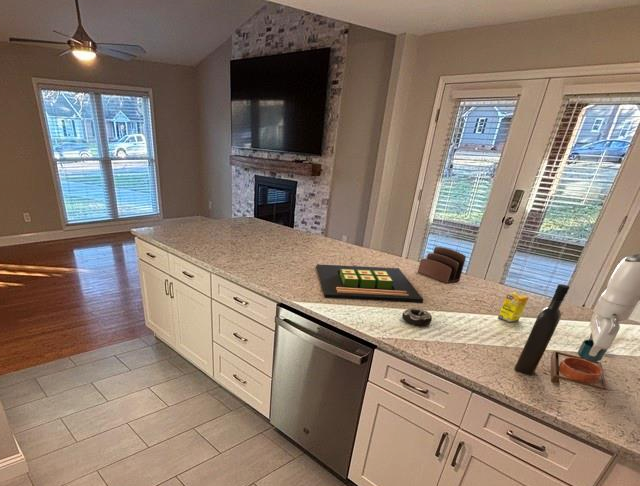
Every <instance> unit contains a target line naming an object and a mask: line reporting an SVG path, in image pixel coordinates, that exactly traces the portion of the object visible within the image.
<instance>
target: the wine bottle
mask: <svg viewBox="0 0 640 486" xmlns="http://www.w3.org/2000/svg"><path fill="white" fill-rule="evenodd" d="M569 289H570V286H569V285H566V284H562V283H561V284H557V286H556V289H555V291H554V294H553V296H552V298H551V300H550V303H549V304H548V306H547V307H544V308H543V309H542V310H541V311H540V312H539V314H538V315H537V317H536V320H535V322H534V324H533V326H532V328H531V330H530V332H529V335H528V337H527V340H526V341H525V344H524V346H523V348H522V350H521V353H520V355H519V357H518V360H517V362H516V364H515V366H514V371H516V372H519V373H522V374H525V375H527V376H533V375H534V373H535V372H536V370H537V368H538V366H539V364H540V362H541V360H542V358H543V356H544V354H545V352H546V349H547V348H548V346H549V344H550V342H551V339H552V338H553V335H554V333H555V332H556V329H557V327H558V325H559V323H560V321H561V319H562V312H561V310H560V308H561V305H562V303H563V302H564V299H565V297H566V295H567V294H568V291H569Z"/></svg>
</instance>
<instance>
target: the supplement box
mask: <svg viewBox="0 0 640 486" xmlns="http://www.w3.org/2000/svg"><path fill="white" fill-rule="evenodd" d="M529 298H530V297H529V296H526V295H524V294H521V293H518V292H516V291H515V292H512V293H511V292H510V293H507V294H506V297H505V299H504V301H503V303H502V306H501V309H500V311H499V313H498V317H497V318H498V319H499V320H502V321H505V322H506V323H508V324H512V323H516V322H519V321H520V318H521V317H522V314H523V312H524V309H525V307H526V305H527V303H528V300H529Z"/></svg>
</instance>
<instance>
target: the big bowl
mask: <svg viewBox="0 0 640 486" xmlns="http://www.w3.org/2000/svg"><path fill="white" fill-rule="evenodd" d="M576 369H578V370H576ZM579 370H580V371H579ZM582 371H583V372H582ZM602 373H603V374H604V370H603V368H602V369H601V368H600V367H599V365H597V363H593V362H590V361H587V360H584V359H580V358H573V357H569V356H566V357H564V358H563V359H562V360H561V361H560V363H559V368H558V369H557V374H558V375H559V376H560V374H561V375H563V377H566V378H569V379H573V380H577V381H581V382H585V383H589V384H595V383H598V381H599V380H600V379H601V375H602Z"/></svg>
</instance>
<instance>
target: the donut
mask: <svg viewBox="0 0 640 486" xmlns="http://www.w3.org/2000/svg"><path fill="white" fill-rule="evenodd" d="M401 317H402V319H403V321H404V322H405V323H407V324H408V325H412V326H416V327H424V326H428V325H430V324H431V323H432V321H433V316H432V314H431V313H430V312H428V310H425V309H422V308H413V307H412V308H411V307H410V308H407V309H405V310H403V312H402V316H401Z"/></svg>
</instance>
